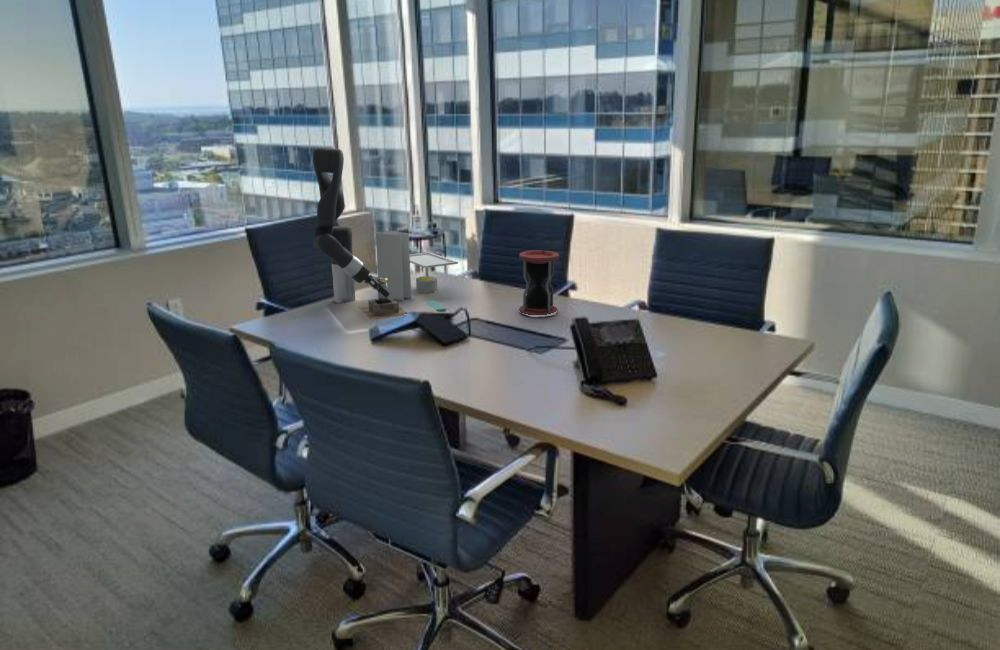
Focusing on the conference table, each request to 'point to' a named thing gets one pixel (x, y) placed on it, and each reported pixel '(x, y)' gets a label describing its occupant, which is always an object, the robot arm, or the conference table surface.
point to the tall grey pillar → (394, 262)
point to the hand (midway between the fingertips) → (385, 293)
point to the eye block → (383, 309)
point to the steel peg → (383, 283)
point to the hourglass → (538, 282)
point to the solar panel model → (426, 262)
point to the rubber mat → (436, 305)
